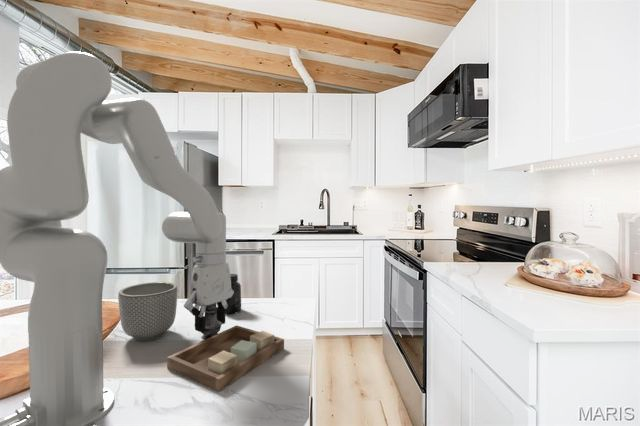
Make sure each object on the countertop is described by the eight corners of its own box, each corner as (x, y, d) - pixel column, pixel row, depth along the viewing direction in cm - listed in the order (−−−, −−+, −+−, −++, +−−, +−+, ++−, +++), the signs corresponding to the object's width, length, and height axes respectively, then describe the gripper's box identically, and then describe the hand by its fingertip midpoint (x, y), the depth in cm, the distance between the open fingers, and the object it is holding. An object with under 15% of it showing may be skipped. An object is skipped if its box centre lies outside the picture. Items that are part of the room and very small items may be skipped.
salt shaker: (214, 343, 79) (215, 296, 78) (193, 341, 80) (194, 295, 80) (226, 334, 84) (226, 290, 84) (206, 332, 86) (206, 289, 85)
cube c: (261, 357, 71) (261, 340, 71) (249, 352, 73) (249, 335, 73) (274, 351, 74) (274, 334, 74) (262, 346, 77) (262, 330, 76)
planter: (124, 330, 87) (123, 284, 86) (178, 322, 92) (178, 279, 92) (113, 352, 74) (112, 298, 74) (177, 342, 80) (176, 292, 79)
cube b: (246, 369, 66) (246, 351, 66) (230, 365, 67) (230, 347, 67) (256, 360, 70) (256, 343, 70) (241, 357, 71) (241, 340, 71)
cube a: (221, 384, 61) (221, 363, 61) (208, 378, 63) (208, 358, 63) (237, 374, 64) (237, 355, 64) (223, 368, 66) (223, 350, 66)
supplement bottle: (237, 306, 108) (237, 272, 107) (244, 312, 102) (244, 275, 102) (217, 310, 104) (216, 274, 103) (223, 316, 98) (223, 278, 98)
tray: (219, 394, 58) (219, 379, 58) (167, 370, 66) (167, 357, 66) (284, 351, 75) (284, 339, 75) (236, 336, 84) (236, 325, 83)
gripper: (192, 265, 72) (191, 342, 73) (244, 256, 87) (244, 319, 88) (172, 262, 76) (171, 335, 77) (226, 253, 91) (225, 314, 91)
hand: (210, 326), depth 82 cm, fingers closed on salt shaker, 5 cm apart
